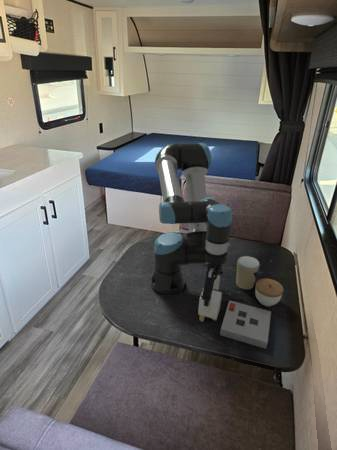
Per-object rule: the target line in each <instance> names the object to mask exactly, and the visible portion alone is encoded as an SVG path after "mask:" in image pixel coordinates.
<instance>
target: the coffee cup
mask: <svg viewBox="0 0 337 450" xmlns="http://www.w3.org/2000/svg"><path fill="white" fill-rule="evenodd" d="M260 266H261V264H260V261H259V260H258V259H257V258H255V257H253V256H249V255H244V256H240V257H239V258H238V259H237V264H236V278H235V279H236V280H235V284H236V286H237V287H238V288H240V289H242V290H251V289H253V288H254V285H255V284H256V279H257V275H258V272H259V268H260Z"/></svg>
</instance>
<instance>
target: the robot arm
mask: <svg viewBox="0 0 337 450" xmlns="http://www.w3.org/2000/svg"><path fill="white" fill-rule="evenodd" d="M211 167H212V153H211V150H210V146H209V145H207V144H206V143H203V142H172V143H169V144H166V145H164V146H163V147H162V148H161V149H160V150H159V151H158V153H157V154H156V156H155V160H154V168H155V170H156V172H157V173H158V176H159V184H160V191H161V197H162V202H160V203H159V204H158V205H159V206H158V215H159V222H160V223H161V224H162V225H163V224H166V225H167V224H168V225H175V224H176V225H178V224H179V225H180V224H188V230H187V231H186V233H185V236H184V237H183V235H182V234H181V233H178V232H177V233H176V232H166V233H162V234H161V235H159V236H158V237H157V238H156V239H155V241H154V248H153V252H154V267H153V268H154V269H153V271H152V274H151V276H150V288H152V289H153V290H154V291H155V292H156V293H159V294H163V295H174V294H178V293H179V292H181V291H183V289H184V287H185V282H186V281H185V280H186V279H185V276H184V273H183V270H182V266H194V265H198V266H199V265H200V266H201V265H203V266H205V265H207V268H206V269H207V271H206V274H205V280H204V287H203V289H204V290H203V289H202V291H203V296H202V295H201V294H200V296H201V297H202V300H203V307H202V311H204V312H208V313H210V309H211V300H212V297H211V295H212V290H215V291H218V290H219V287H220V281H221V276H222V275H223V274H224V273H223V271H222V270H223V265H224V264H225V263H226V262H227V256H228V251H229V250H228V248H229V247H230V246H231V243H229V240H230V235H231V234H230V233H231V227H232V223H233V222H232V221H233V210H232V208H231V207H229V206H227V205H226V204H220V203H219V202H218V201H217V200H216V199H215V198H213V197H207V187H206V185H207V183H206V175H207V174H208V173H209V170H210V169H211ZM180 170H181V175H182V176H183V177H184V178H185V188H186V190H185V191H186V201H185V199H184V195H183V191H182V187H181V186H182V185H181V183H180V179H179V174H178V171H180Z"/></svg>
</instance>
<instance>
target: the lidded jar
mask: <svg viewBox="0 0 337 450" xmlns="http://www.w3.org/2000/svg"><path fill="white" fill-rule="evenodd" d="M283 287H284V286H283V285H282V284H281V283H280V282H278V281H277V280H275V279H272V278H267V277H266V278H260V279H258V280H257V281H255V287H254V289H255V290H254V293H255V297H256V300H257V301H258V302H259V303H260V305H262V306H264V307H272V306H275V305H277V304H278V303H280V300H281V299H282V296H283V293H284V290H285V289H284V288H283Z"/></svg>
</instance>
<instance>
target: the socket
mask: <svg viewBox="0 0 337 450" xmlns="http://www.w3.org/2000/svg"><path fill="white" fill-rule="evenodd" d="M271 315H272V311H271V310H267V309H263V308H259V307H256V306H251V305H248V304H245V303H241V302H238V301H233V300H229V301H228V304H227V307H226V310H225V313H224V317H223V321H222V324H221V327H220V332H219V336H222V337H226V338H228V339H233V340H235V341H239V342H242V343H245V344H248V345H252V346H256V347H258V348H261V349H265V350H267V346H268V343H269V335H270V334H269V333H270V323H271V318H272V317H271Z"/></svg>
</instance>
